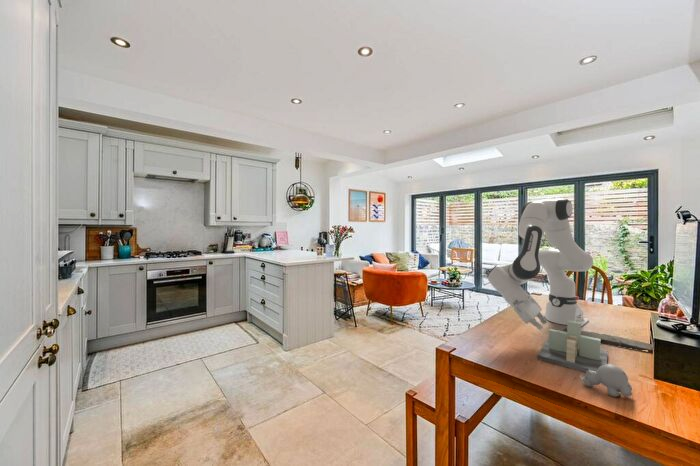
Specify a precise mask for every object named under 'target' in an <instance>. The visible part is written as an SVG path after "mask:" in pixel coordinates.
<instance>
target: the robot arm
mask: <svg viewBox="0 0 700 466" xmlns="http://www.w3.org/2000/svg"><path fill="white" fill-rule="evenodd" d="M520 215H521V217H520V220H519V224H518V231H517V233H518V236H519V237H520V238H522V239H523V242H522V247H521V252H520V254H519V255H518V256H516V258H515V259H514V260H513V262H512V263H509V264H505V265H495V266H493V267H492V268H491V270H490V271H489V272H488V273H487V275H486V278H487V280H488V282H489V284H490V285H491V286H492V287H493V288H494V289H495V291H497V292H498V293H499V294H501V296H502V298H503V299H504V300H505V301H506V303H507V304H508V305H509V306H510V307H511V308H512V309H513V311H514V312H515V313H516V315H518V317H519V318H520V320H522V322H524V323H525V324H529V323H530V324H531V325H533V326H534V327H536V329H537V330H538V331H541V330H543V329H544V326H543V325H546V324H547V323H548V321H549V322H552V323H554V324H559V325H562V326H563V325H564V326H565V325H566V326H567V324H568V320H571V321H576V322H581V327H583V326H584V325H585V324H588V323H589V318H587V317H584V310H583V308H581V307H580V305H578V301H579V299H580V297H579V296H577V295H576V282H575V281H574V279H573V278H571V277H569V276H568V275H567V274H566V273H565V271H569V272H570V271H571V272H587V271H589V270H590V269H592V267H593V264H594V259H593V256H592V255H591V253H589V252H587V251H585V250H584V249H582V248H581V247H580V246H579V245H578V244H577V243H576V241H575V240H574V238H573V233H572V230H571V225H570V221H569V218H570V217H571V216H572V215H573V204H572V202H571V201H570V200H569V199H568V198H548V199H545V198H544V199H540V200H536V201H535V200H534V201H528V202H525V203H524V204H523V205H521V209H520ZM544 234H545V237H546V241H547V243H548V244H549V245H550V246H552V247H554V248H545V249H541V250H540V247H541V242H542V238H543V236H544ZM541 268H543V269H544V271H545V272H546V273H547V276H548V279H549V294H548V301H547V302H546V305H545V314H544V313H541V312H542V307H541V306H540V304H539V303H538V302H537V301H536V300H535V299H534V298H533V297H532V295H531V292H529V291H528V290H525V289H524V288H523V287H522V286H521V285H524V284H526V283H528V282H529V281H530V280H532V279H534V278H536V277H537V276H538V275H539V273H540V271H541ZM536 318H538V319H539V321H537V319H536ZM539 322H541V323H539Z"/></svg>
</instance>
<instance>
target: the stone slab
mask: <svg viewBox="0 0 700 466" xmlns="http://www.w3.org/2000/svg"><path fill="white" fill-rule="evenodd" d="M563 331H564V332H567V328H564V329H563ZM581 335H583V336H588V337H593V338H598V339H601V344H604V345H608V344H609V346H613V345H614V346H613V347H618V346H620V348H623V347H626V348H625V349H628V348H632V349H637V350H649V351H653V350H652V349H653V345H652V344H651V343H647V342H643V341H638V340H634V339H630V338H625V337H622V336H618V335H612V334H604V333H598V332H594V331H587V330H586V331H585V330H581ZM632 349H631V350H632ZM637 350H636V351H637Z"/></svg>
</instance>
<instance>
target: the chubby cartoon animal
mask: <svg viewBox="0 0 700 466" xmlns="http://www.w3.org/2000/svg"><path fill="white" fill-rule="evenodd" d="M579 377H580V380H582V383H583V385H584V386H586V387H589V388H590V387H593V386H595V385H597V386H598V385H600V384H601V385H603V386H604V387H605V388H606V390H607V394H608V396H610V397H619V396H620V394H621V396H623V397H631V396H633V392H632V391H633V387H632V384H630V382H629V378H628V375H627V374H626V372H625V371H624V369H622V368H620V367H619V366H617V365H615V364H610V363H607V364H605V365H602V366H600V367H599V368H598V370H597V371H592V370H591V369H590V368H588V371H586V372H585V375H583V376H582V374H580V375H579Z"/></svg>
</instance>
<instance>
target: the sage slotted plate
mask: <svg viewBox="0 0 700 466" xmlns="http://www.w3.org/2000/svg"><path fill="white" fill-rule="evenodd" d="M566 326H567V332H564V330H559V329H554V328H549V330H548V338H549V348H550V349H554V350H558V351H562V352H566V353H567V340H568V337H569V335H571V336H576V337H577V346H580V354H579V356H583V357H587V358H591V359H595V360H599V361H600V350H601V344H602V343H601V339H598V338H593V337H588V336H583V335H581V331H582V329H581V328H582V326H581V322H576V321H571V320H568V324H567V325H566Z"/></svg>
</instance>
